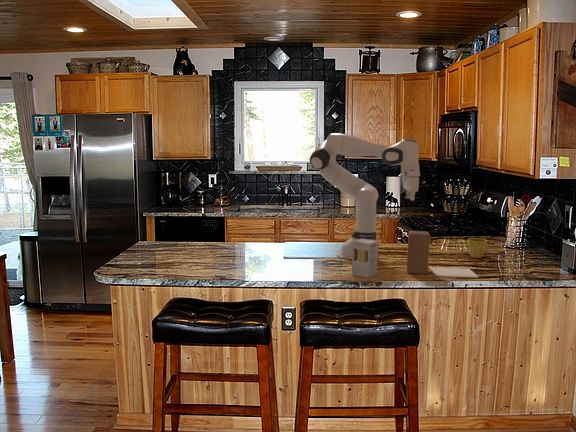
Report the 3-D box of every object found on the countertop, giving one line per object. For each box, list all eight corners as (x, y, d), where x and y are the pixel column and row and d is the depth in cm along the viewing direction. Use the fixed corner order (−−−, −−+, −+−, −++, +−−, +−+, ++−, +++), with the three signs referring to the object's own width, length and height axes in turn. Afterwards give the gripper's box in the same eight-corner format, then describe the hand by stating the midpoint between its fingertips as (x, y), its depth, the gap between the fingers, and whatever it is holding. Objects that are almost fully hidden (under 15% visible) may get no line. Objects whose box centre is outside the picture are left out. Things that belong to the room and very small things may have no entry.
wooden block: (427, 275, 278) (430, 234, 275) (406, 273, 280) (408, 233, 277) (426, 270, 287) (429, 231, 284) (406, 268, 289) (408, 230, 286)
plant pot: (479, 259, 315) (480, 242, 314) (463, 256, 323) (464, 239, 322) (489, 257, 322) (491, 240, 321) (473, 253, 330) (474, 237, 328)
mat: (436, 276, 275) (436, 275, 275) (429, 268, 291) (429, 267, 291) (478, 277, 275) (478, 276, 275) (469, 269, 290) (469, 268, 290)
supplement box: (350, 275, 275) (352, 240, 272) (359, 271, 282) (361, 237, 280) (368, 278, 269) (370, 243, 267) (377, 274, 277) (379, 240, 274)
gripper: (399, 170, 295) (400, 197, 297) (407, 173, 274) (408, 201, 276) (412, 170, 295) (412, 196, 297) (420, 172, 274) (421, 201, 276)
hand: (410, 199), depth 286 cm, fingers open, 8 cm apart
